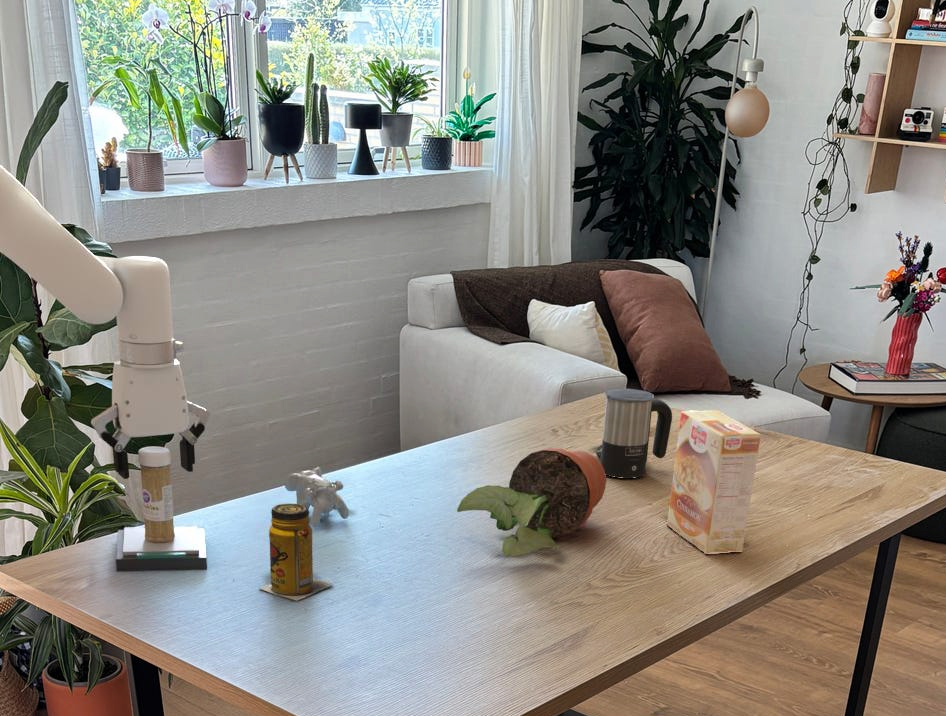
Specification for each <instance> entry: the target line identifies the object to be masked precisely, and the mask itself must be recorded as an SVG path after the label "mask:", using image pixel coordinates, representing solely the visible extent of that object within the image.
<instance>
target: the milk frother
mask: <svg viewBox="0 0 946 716" xmlns="http://www.w3.org/2000/svg"><path fill="white" fill-rule="evenodd" d="M604 394H605V397H606V398H605V409H604V410H605V411H604V420H603V431H602V441H601V445H599V446H598V447H597V448H596V450H595V454H596V456H597V458H598V459H600V458H601V459H600V460H599V461H600V462H601V465H602V467H603V469H604V471H605V474H606V475H610V476H615V477H623V478H633V477H640V476H643V475H644V476H646V474H647V471H646V465H647V461H648V454H649V453H648V452H649V444H650V443H649V442H650V432H651V422H652V413H654V412H656V413H657V418H656V425H655V432H654V438H653V444H652V454H653V456H655V457H656V458H658V459H662V458H663V459H664V458H665V456H666V454H667V449H668V443H669V438H670V434H671V433H670V432H671V428H672V422H673V411H672V409H671V407H670V406H669V404H667V403H666V402H664V401H663V400H661V399H657V398H655V395H654V394H653V393H651V392H649V391H646V390H642V389H635V388H614V389H608V390H607V391H605V392H604ZM644 476H643V477H644ZM640 478H641V477H640Z"/></svg>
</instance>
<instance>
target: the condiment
mask: <svg viewBox="0 0 946 716" xmlns="http://www.w3.org/2000/svg"><path fill="white" fill-rule="evenodd" d="M270 513H271V519H270V522H271V525H270V526H269V529H268V537H269V564H270V565H269V568H270V569H269V570H270V583H269V584H266V585H263V586H262V587H258V589H259V590H263V591H264V592H267V593H269V594H272V595H275V596H279V597H283V598H286V599H290V600H293V601H296V602H297V601H300V600H302V599H306V598H307V597H310V596H312V595H315V594H316V593H318V592H320V591H323V590H325V589H327V588H329V587H331V586H334V585H335V583H333V582H327V581H324V580H320V579H317V578H314V566H313V563H314V561H313V559H314V558H313V557H314V556H313V529H312V528H313V527H311V524H310V510H309V509H307V508H306V507H305V506H303V505H299V504H297V503H280V504H277V505H274V506H273V507H272V508H271V512H270Z"/></svg>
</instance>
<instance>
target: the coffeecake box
mask: <svg viewBox="0 0 946 716" xmlns="http://www.w3.org/2000/svg"><path fill="white" fill-rule="evenodd" d="M678 428H679V429H678V434H677V443H676V450H675V451H676V452H675V457H674V458H675V459H674V467H673V475H672V482H671V490H670V498H669V506H668V514H667V521H666V525H667V524H668V525H669V526H670V527H671V528H673V529H674V530H675V531H677V532H678V533H679V534H681V535H682V536H683V537H685V538H686V539H688V540H689V541H690V542H692V543H693V544H694V545H696V546H697V547H699V548H700V549H701V550H703V551H704V552H706V553H710V552H728V551H742V552H743V549H744V542H745V536H746V530H747V524H748V518H749V516H748V515H749V510H750V505H751V498H752V492H753V487H754V486H753V485H754V481H755V480H754V479H755V474H756V473H755V472H756V467H757V461H758V454H759V447H760V442H761V437H762V433H759V432H758V431H755V430H754V429H752V428H750V427H748V426H746V425H745V424H744V423H741V422H739V421H737V420H735V419H734V418H732V417H731V416H729V415H727V414H726V413H723V412H722V411H720V410H716V409H715V410H713V409H712V410H695V409H694V410H693V409H691V410H682V411H681V412H680V419H679V427H678Z"/></svg>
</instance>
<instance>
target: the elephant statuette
mask: <svg viewBox="0 0 946 716" xmlns="http://www.w3.org/2000/svg"><path fill="white" fill-rule="evenodd" d="M284 488H285V490H287V492H295V494H296V495H295V496H296V504H299V505H303V506H305V507H306V508H307V509H308V510H310V507H312V508H313V509H312V513H311V517H310V518H309V520H310V523H309V524H310V527H311V526H312V527H311V528H318V527H319V526H320V523H321V522H320V521H321V518H322V516H323V515H327V516H328V517H329V516H330V513H331V512H332V511H337V512H338V513H339V516H340V517H341V519H343V520H346V519H348V517H349V514H350V510H349V508H348V506H347V504H346V503H345V501H344V500H343V498H342V497H341V495H340V494H338V493H337V492H338V491H341V490H343V489H344V484H343V483H342V481H341V480H338V479H336V480H335V481H332V482H330V480H328V479H326V477H323V473H322V469H321V468H320V467H319V466H317V467H316V468H313V469H312V470H309V469H308V470H303V471H300V472H299V473H290V474H288V475H287V476H286V478H285V480H284Z"/></svg>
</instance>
